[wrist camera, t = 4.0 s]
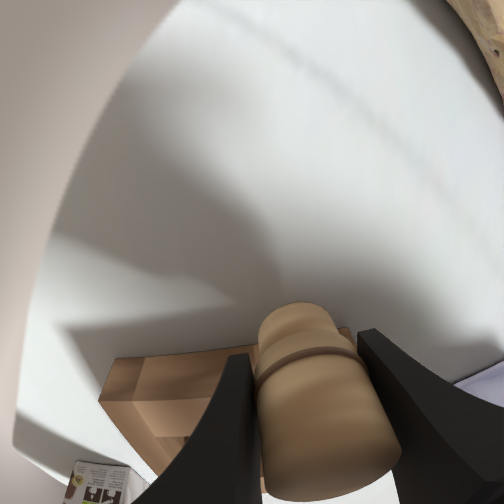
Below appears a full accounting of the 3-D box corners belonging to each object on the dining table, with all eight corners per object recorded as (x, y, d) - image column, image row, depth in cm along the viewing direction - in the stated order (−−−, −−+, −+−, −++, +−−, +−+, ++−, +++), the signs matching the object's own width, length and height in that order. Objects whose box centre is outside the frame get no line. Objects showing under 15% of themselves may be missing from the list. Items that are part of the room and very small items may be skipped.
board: (347, 327, 14) (368, 369, 11) (341, 443, 18) (350, 477, 16) (115, 359, 14) (97, 400, 12) (180, 463, 19) (177, 496, 16)
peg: (341, 285, 11) (418, 417, 5) (342, 358, 12) (391, 481, 6) (240, 304, 11) (248, 458, 5) (257, 375, 12) (271, 509, 6)
